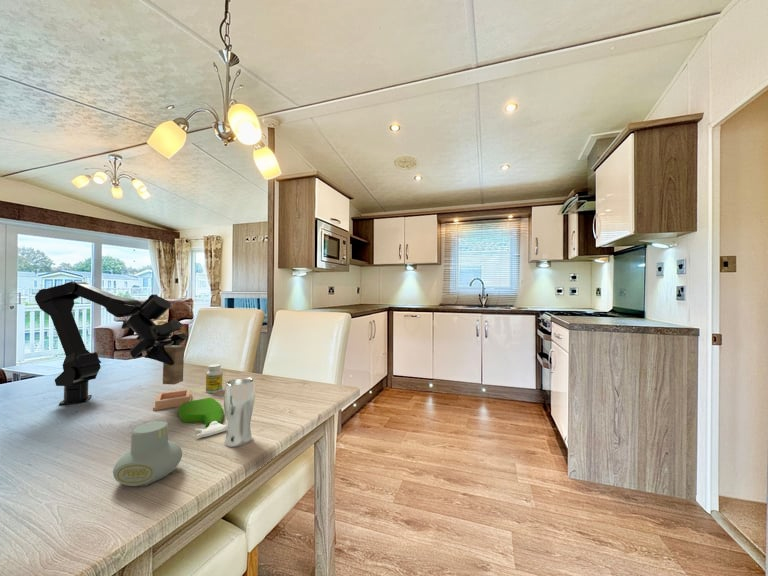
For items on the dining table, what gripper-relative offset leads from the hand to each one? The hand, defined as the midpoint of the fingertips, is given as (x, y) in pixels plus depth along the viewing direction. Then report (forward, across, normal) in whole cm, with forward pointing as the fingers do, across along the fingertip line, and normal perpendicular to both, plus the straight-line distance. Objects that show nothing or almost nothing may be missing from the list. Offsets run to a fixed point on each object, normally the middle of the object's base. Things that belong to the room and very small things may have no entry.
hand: (177, 362), depth 100 cm
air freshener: (+25, -39, -6) cm, 47 cm away
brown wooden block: (+4, 0, +6) cm, 7 cm away
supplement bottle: (+13, +13, +6) cm, 19 cm away
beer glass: (+33, -24, -14) cm, 43 cm away
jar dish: (+9, +1, +10) cm, 14 cm away
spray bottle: (+22, -12, -2) cm, 25 cm away
